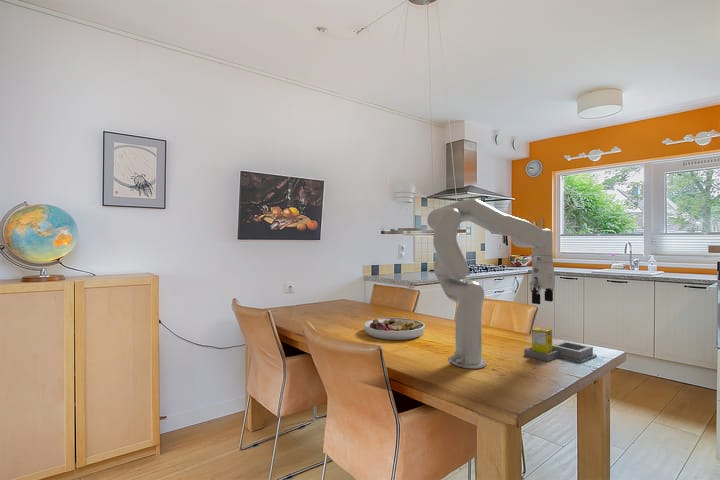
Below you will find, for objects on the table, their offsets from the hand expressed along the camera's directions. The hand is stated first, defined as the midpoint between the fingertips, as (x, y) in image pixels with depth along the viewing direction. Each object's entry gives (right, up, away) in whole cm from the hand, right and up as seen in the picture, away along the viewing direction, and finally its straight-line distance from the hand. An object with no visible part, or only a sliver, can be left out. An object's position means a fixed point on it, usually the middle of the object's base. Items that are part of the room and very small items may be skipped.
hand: (542, 302), depth 153 cm
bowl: (-56, -22, +37) cm, 71 cm away
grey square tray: (0, -22, 0) cm, 22 cm away
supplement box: (0, -22, 0) cm, 22 cm away
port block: (+12, -22, 0) cm, 25 cm away
